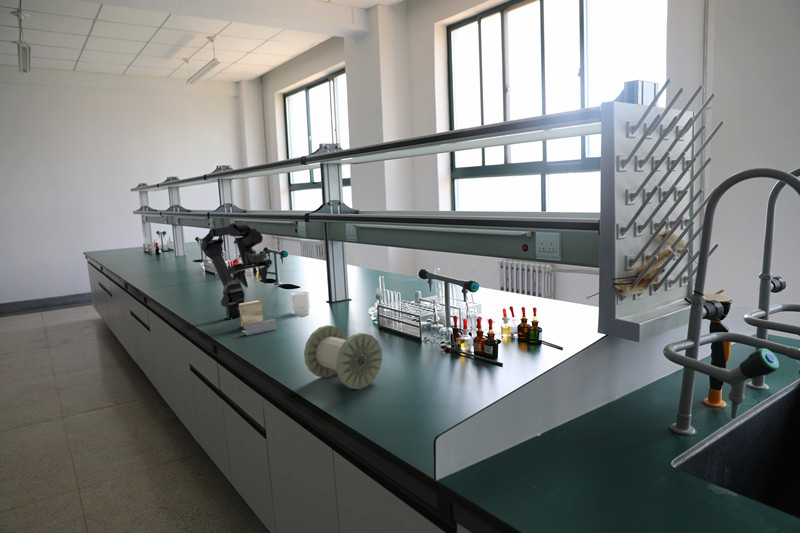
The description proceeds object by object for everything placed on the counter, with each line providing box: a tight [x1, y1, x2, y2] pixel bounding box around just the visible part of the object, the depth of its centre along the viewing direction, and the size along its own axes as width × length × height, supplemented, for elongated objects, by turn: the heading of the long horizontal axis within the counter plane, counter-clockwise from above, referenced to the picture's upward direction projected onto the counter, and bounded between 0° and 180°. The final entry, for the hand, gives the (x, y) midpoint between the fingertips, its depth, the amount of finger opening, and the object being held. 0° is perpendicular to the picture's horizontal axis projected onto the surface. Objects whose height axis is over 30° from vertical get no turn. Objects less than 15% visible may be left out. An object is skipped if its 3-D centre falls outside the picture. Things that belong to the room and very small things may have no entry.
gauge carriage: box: [237, 300, 264, 330], centre depth 213 cm, size 4×10×10 cm, turn 123°
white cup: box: [290, 291, 310, 318], centre depth 234 cm, size 8×8×10 cm
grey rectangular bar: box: [244, 318, 278, 336], centre depth 205 cm, size 2×12×4 cm, turn 123°
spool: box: [303, 324, 383, 390], centre depth 148 cm, size 16×15×15 cm
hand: (256, 285), depth 222 cm, fingers open, 9 cm apart
